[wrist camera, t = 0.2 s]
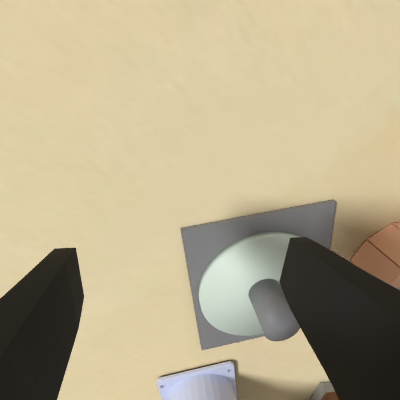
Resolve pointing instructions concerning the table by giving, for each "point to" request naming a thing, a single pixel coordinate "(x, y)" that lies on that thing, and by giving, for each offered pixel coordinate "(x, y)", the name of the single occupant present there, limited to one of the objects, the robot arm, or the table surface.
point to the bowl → (381, 255)
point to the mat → (240, 228)
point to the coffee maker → (324, 392)
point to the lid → (249, 288)
